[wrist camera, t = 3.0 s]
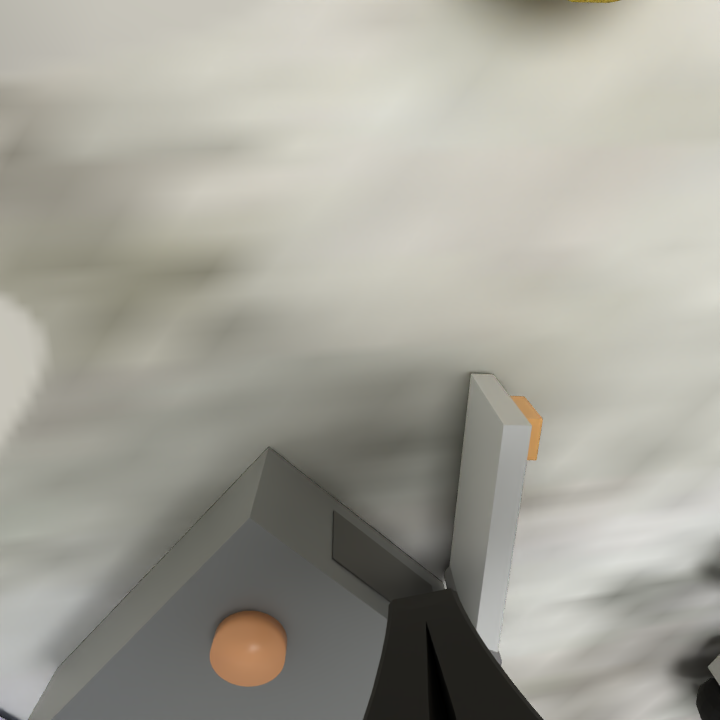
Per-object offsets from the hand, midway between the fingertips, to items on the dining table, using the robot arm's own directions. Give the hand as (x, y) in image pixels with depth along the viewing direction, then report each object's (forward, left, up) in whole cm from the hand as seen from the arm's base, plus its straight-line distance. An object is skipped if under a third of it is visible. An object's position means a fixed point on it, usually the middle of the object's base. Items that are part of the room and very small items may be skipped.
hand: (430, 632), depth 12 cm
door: (+1, -2, -7) cm, 8 cm away
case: (-8, 0, -7) cm, 11 cm away
